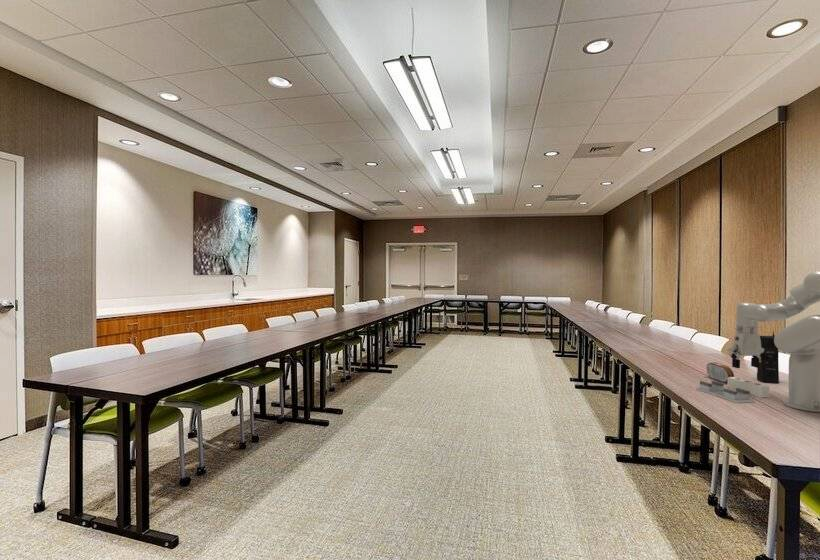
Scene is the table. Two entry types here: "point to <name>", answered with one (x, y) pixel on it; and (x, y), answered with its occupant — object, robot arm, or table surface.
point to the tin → (719, 372)
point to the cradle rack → (725, 392)
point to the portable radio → (768, 361)
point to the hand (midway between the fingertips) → (745, 367)
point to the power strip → (749, 386)
